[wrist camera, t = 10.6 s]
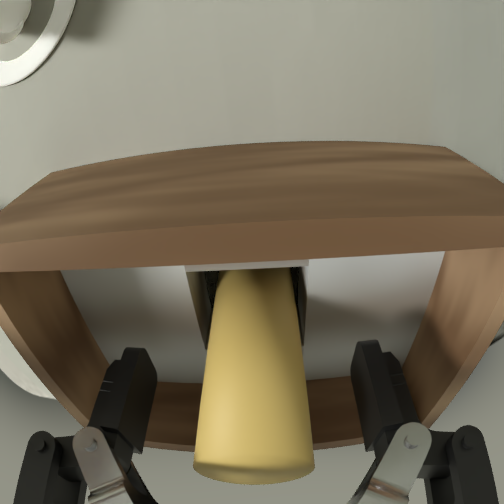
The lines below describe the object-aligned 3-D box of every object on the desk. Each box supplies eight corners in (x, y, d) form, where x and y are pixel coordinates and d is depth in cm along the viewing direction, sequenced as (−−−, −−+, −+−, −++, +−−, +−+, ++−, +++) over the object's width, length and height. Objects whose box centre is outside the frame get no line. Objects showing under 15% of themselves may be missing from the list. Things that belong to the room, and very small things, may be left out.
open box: (51, 172, 13) (-42, 249, 7) (445, 147, 12) (546, 216, 6) (122, 351, 20) (94, 437, 14) (398, 340, 19) (428, 428, 13)
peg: (215, 244, 15) (179, 450, 7) (290, 240, 15) (321, 449, 7) (224, 300, 17) (205, 483, 9) (290, 297, 17) (309, 481, 9)
